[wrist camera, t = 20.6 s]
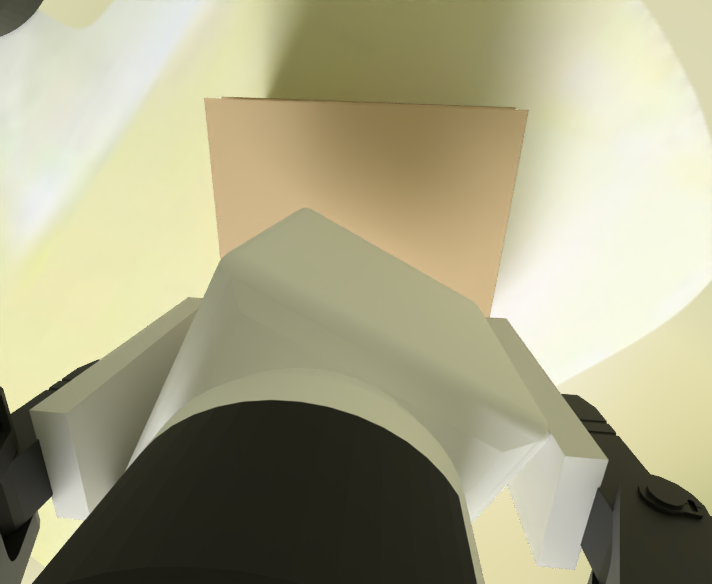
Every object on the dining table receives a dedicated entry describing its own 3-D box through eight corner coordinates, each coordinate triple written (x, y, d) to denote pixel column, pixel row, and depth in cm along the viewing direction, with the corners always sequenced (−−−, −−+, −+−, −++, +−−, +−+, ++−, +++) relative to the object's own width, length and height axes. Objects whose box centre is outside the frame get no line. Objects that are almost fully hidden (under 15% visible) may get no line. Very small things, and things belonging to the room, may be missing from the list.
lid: (211, 98, 18) (204, 97, 18) (522, 110, 18) (528, 110, 17) (239, 386, 25) (234, 394, 24) (468, 404, 24) (471, 413, 23)
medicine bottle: (222, 362, 16) (-196, 885, 4) (303, 202, 14) (-130, 438, 2) (379, 443, 16) (360, 1076, 5) (481, 303, 14) (844, 881, 3)
